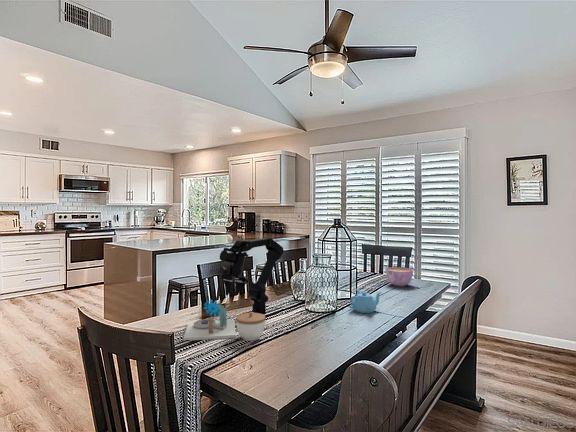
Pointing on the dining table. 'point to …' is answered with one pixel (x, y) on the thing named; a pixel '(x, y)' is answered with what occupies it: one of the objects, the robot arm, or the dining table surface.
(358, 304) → the teapot
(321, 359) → the dining table surface
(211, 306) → the gear
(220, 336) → the clock board
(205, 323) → the flange plate
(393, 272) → the bowl of food
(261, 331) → the lidded bowl
